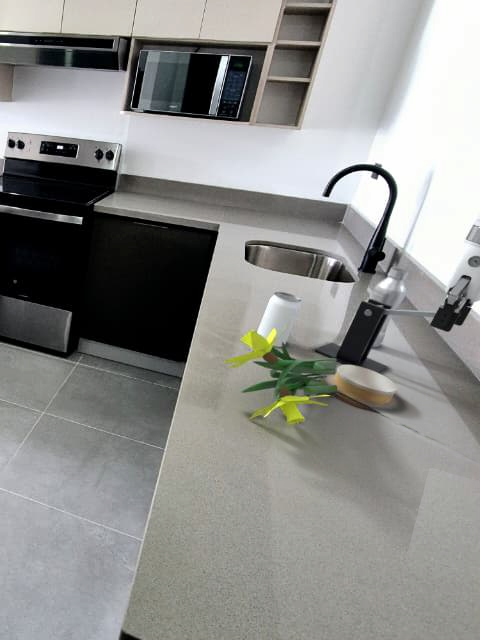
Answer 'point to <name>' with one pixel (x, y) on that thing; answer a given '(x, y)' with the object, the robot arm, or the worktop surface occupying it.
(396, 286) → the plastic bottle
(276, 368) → the daffodil flowers
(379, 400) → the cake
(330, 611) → the worktop surface
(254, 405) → the worktop surface
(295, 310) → the can
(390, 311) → the lever
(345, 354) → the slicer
